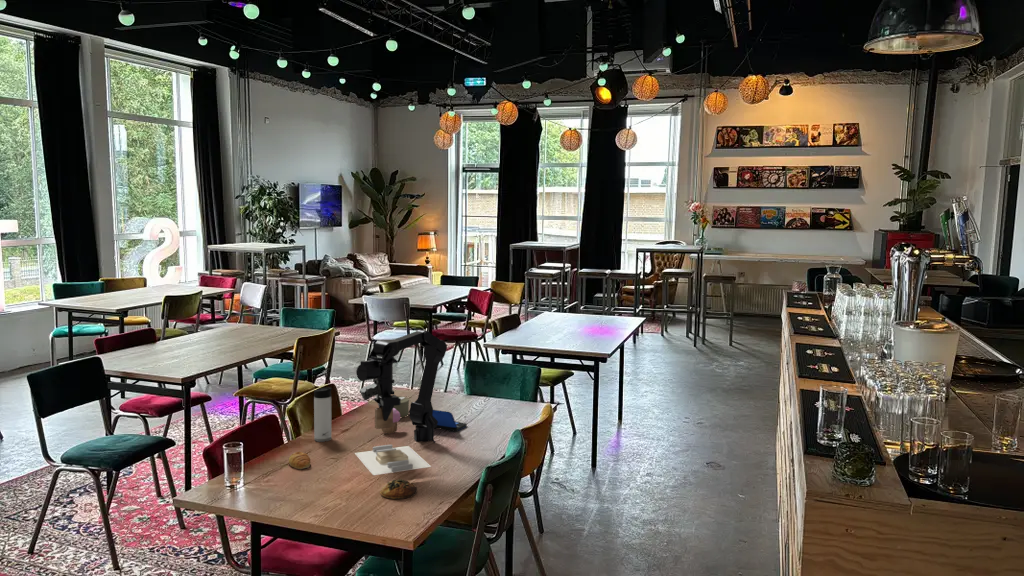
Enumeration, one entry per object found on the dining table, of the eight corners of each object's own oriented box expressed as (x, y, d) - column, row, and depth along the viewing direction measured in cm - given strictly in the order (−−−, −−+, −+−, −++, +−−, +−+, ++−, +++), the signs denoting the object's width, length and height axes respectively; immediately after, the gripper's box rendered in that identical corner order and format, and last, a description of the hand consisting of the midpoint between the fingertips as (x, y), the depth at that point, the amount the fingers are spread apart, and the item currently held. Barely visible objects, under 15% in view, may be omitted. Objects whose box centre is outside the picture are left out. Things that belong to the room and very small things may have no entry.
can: (374, 415, 300) (374, 400, 300) (394, 410, 310) (394, 394, 310) (395, 420, 294) (395, 404, 293) (414, 414, 303) (414, 399, 303)
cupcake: (402, 430, 280) (402, 405, 279) (397, 437, 271) (397, 411, 270) (381, 429, 281) (381, 404, 280) (374, 435, 272) (374, 410, 271)
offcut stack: (403, 455, 247) (403, 448, 247) (408, 459, 243) (408, 453, 243) (375, 459, 243) (375, 452, 242) (379, 463, 238) (379, 457, 238)
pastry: (315, 468, 237) (315, 457, 236) (295, 472, 233) (295, 461, 232) (305, 460, 244) (305, 449, 244) (286, 463, 240) (286, 453, 240)
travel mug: (327, 442, 263) (327, 390, 261) (311, 441, 264) (311, 389, 262) (335, 437, 269) (334, 386, 267) (319, 436, 270) (318, 385, 268)
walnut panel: (391, 425, 252) (391, 406, 251) (392, 427, 250) (392, 407, 250) (374, 427, 249) (374, 408, 249) (376, 429, 247) (376, 409, 247)
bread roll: (419, 497, 212) (417, 481, 212) (383, 506, 209) (380, 490, 209) (414, 486, 223) (412, 470, 222) (379, 493, 220) (377, 478, 219)
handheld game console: (468, 427, 287) (468, 404, 286) (451, 435, 275) (451, 412, 274) (435, 421, 294) (435, 400, 293) (417, 429, 282) (417, 407, 281)
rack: (408, 448, 258) (408, 441, 258) (431, 469, 237) (431, 462, 236) (354, 455, 249) (354, 448, 249) (373, 478, 228) (373, 470, 227)
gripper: (355, 373, 253) (355, 415, 254) (369, 384, 236) (369, 429, 238) (385, 370, 258) (385, 412, 259) (401, 381, 241) (400, 425, 243)
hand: (384, 419), depth 250 cm, fingers closed on walnut panel, 2 cm apart
